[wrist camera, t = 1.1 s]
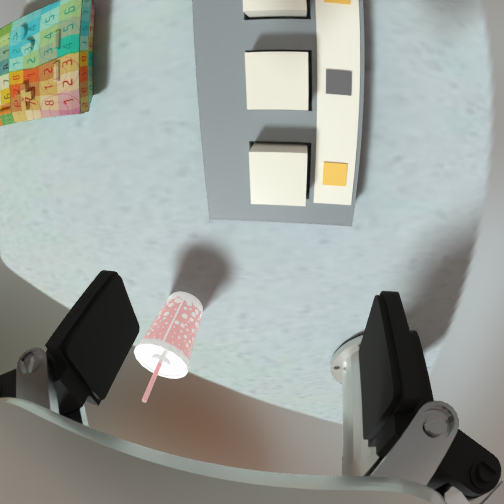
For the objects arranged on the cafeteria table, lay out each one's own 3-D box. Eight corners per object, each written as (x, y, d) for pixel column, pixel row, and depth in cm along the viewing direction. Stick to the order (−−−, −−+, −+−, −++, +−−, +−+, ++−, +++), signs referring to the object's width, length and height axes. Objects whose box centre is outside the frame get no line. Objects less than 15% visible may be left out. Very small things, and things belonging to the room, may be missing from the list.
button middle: (307, 54, 18) (308, 52, 16) (307, 105, 21) (308, 110, 18) (252, 54, 19) (244, 52, 16) (254, 104, 21) (247, 109, 19)
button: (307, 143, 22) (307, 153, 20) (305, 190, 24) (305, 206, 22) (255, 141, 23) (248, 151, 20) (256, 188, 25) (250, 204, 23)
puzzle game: (74, 115, 21) (-31, 134, 22) (104, 105, 25) (-6, 122, 26) (77, -9, 14) (-35, 48, 16) (107, -4, 18) (-9, 42, 20)
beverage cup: (161, 313, 39) (118, 401, 27) (164, 279, 35) (112, 375, 24) (205, 328, 39) (172, 422, 28) (213, 296, 35) (175, 400, 24)
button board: (352, -41, 14) (358, -54, 11) (347, 210, 27) (352, 228, 24) (203, -37, 16) (189, -49, 13) (218, 204, 29) (208, 220, 26)
